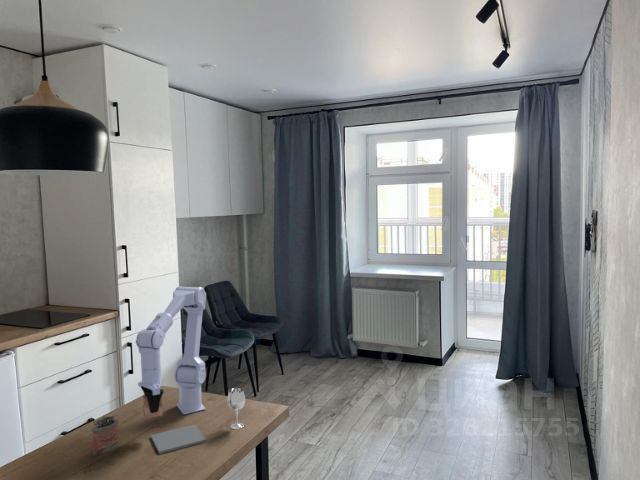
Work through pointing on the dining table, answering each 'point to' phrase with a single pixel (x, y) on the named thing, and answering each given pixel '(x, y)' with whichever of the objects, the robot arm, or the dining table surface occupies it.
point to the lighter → (105, 434)
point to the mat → (177, 439)
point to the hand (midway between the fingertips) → (152, 409)
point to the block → (147, 410)
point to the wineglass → (236, 404)
